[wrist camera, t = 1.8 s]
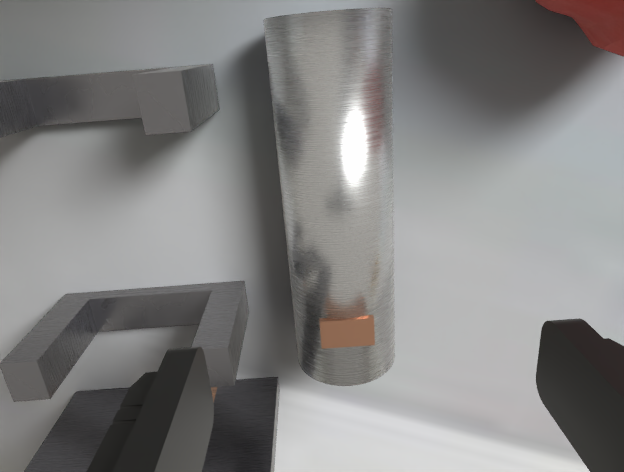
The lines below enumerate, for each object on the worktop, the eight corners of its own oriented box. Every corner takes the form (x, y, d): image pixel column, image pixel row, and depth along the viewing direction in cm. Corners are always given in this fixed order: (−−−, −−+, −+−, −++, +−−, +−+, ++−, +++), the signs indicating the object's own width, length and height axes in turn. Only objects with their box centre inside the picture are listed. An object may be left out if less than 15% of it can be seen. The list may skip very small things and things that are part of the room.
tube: (268, 23, 21) (257, 16, 16) (381, 13, 21) (404, 4, 16) (298, 329, 27) (297, 391, 22) (386, 323, 27) (403, 384, 22)
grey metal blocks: (-1, 80, 21) (-109, 93, 16) (212, 63, 21) (180, 70, 16) (13, 125, 22) (-85, 153, 16) (219, 109, 22) (191, 131, 16)
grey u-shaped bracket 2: (65, 294, 25) (-1, 364, 20) (244, 280, 25) (227, 347, 20) (75, 325, 26) (14, 401, 21) (248, 312, 26) (234, 385, 20)
